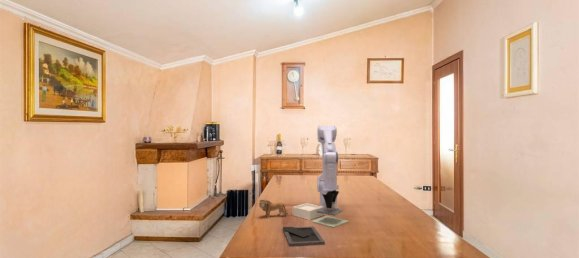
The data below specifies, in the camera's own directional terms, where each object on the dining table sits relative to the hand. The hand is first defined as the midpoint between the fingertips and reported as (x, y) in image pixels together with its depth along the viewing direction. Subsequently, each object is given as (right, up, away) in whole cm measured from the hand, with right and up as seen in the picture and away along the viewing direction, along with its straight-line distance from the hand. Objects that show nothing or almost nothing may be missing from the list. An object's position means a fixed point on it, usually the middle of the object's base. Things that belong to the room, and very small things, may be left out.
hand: (330, 207), depth 146 cm
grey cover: (0, -2, 0) cm, 2 cm away
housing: (-10, -7, +10) cm, 16 cm away
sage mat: (0, -7, 0) cm, 7 cm away
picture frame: (-14, -8, -20) cm, 25 cm away
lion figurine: (-27, -7, +8) cm, 29 cm away
